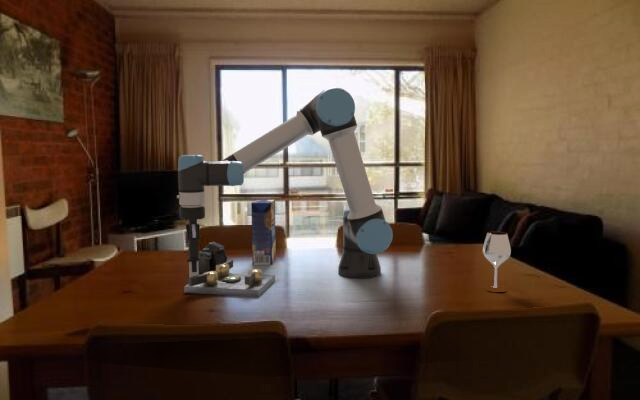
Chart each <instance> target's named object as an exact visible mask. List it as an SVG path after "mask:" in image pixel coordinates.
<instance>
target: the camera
mask: <svg viewBox="0 0 640 400" xmlns="http://www.w3.org/2000/svg"><path fill="white" fill-rule="evenodd" d="M225 249H226V248H225V246H224V245H222V244H220V243H219V242H218V243H217V242H215V241H212V242H208V244H207V245H206V246H204V248H202V250H200V251H199V250H198V254H199V257H200V259H199V260H198V265H199V274H203V273H204V272H208V271H216V265H219V264H223V263H225V262H227V261H228V256H227V255H226V252H225Z"/></svg>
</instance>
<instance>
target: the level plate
mask: <svg viewBox="0 0 640 400" xmlns="http://www.w3.org/2000/svg"><path fill="white" fill-rule="evenodd" d="M246 275H248V273H240V272H239V273H238V272H237V273H235V272H229V275H228V276H224V277H219V276H218V283H217V284H213V285H205V284H204V283H201V284H198V285H194V286H189V285H188V283H187V284H186V285H185V286H183V289H184V294H186V293H187V294H202V295H203V294H204V295H205V294H206V295H219V296H220V295H222V296H223V295H224V296H241V297H242V296H243V297H258V298H259V297H260V296H261V295H262V294H263V293H264V292H265V291H266V290H268V288H270V286H271V285H272V284H274V282H276V275H275V274H263V273H262V281H261V282H252V283H251V284H250V285H245V276H246Z"/></svg>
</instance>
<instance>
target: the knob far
mask: <svg viewBox="0 0 640 400" xmlns="http://www.w3.org/2000/svg"><path fill="white" fill-rule="evenodd" d="M232 268H234V260H233V259H229V260H228V259H227V262H225V263H223V264H219V265H216V269H215V271H216V272H218V276H219V277H224V276H228V275H229V273H230V270H231V269H232Z"/></svg>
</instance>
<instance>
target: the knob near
mask: <svg viewBox="0 0 640 400" xmlns="http://www.w3.org/2000/svg"><path fill="white" fill-rule="evenodd" d="M187 278H188V279H187V280H188V281H187V282H188V283H187V284H188V285H189V286H194V285H198V284H201V283H204V284H205V285H213V284H217V283H218V272H216V270H212V271H208V272H204V273H200V274H199V275H197V276H193V277H190V276H188V277H187Z"/></svg>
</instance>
